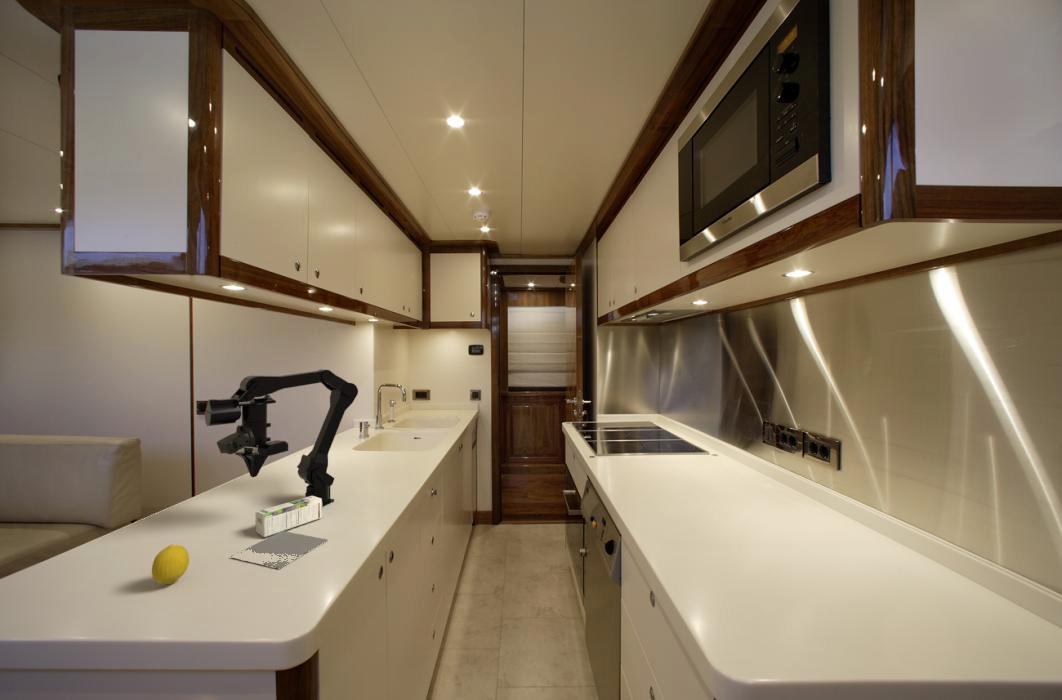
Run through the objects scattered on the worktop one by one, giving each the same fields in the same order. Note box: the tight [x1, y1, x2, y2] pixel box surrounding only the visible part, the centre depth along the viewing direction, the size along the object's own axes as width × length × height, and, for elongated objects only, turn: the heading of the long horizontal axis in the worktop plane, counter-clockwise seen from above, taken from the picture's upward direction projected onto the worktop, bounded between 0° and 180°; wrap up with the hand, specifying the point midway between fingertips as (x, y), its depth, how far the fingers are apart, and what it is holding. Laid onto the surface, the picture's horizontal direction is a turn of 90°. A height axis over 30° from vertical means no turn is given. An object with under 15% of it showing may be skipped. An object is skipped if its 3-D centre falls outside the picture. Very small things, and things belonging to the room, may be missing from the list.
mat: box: [230, 530, 328, 569], centre depth 90 cm, size 13×15×1 cm
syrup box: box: [255, 496, 323, 538], centre depth 103 cm, size 6×6×14 cm
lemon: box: [151, 544, 190, 585], centre depth 77 cm, size 6×6×8 cm
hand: (253, 476), depth 104 cm, fingers closed
